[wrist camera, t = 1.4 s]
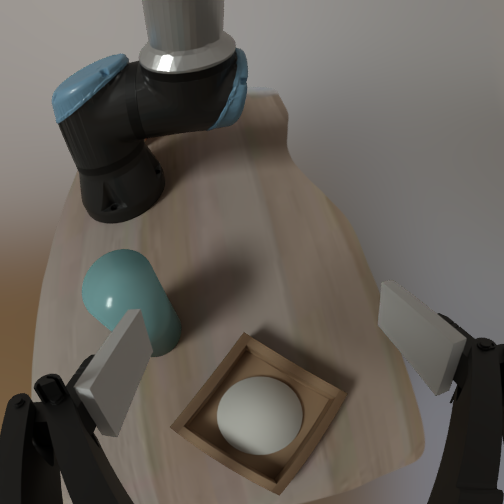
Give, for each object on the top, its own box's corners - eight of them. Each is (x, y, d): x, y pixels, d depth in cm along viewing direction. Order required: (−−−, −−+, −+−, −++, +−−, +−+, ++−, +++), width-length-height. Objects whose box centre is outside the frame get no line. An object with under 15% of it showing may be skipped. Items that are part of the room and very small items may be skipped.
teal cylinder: (117, 332, 31) (69, 289, 21) (152, 293, 35) (119, 237, 25) (156, 368, 29) (114, 338, 19) (192, 324, 33) (170, 275, 23)
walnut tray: (176, 426, 26) (169, 427, 23) (243, 339, 32) (244, 332, 29) (276, 488, 22) (279, 495, 19) (338, 396, 28) (347, 393, 25)
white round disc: (200, 424, 25) (200, 424, 25) (248, 361, 30) (248, 361, 29) (271, 468, 23) (272, 469, 22) (317, 402, 27) (317, 402, 27)
